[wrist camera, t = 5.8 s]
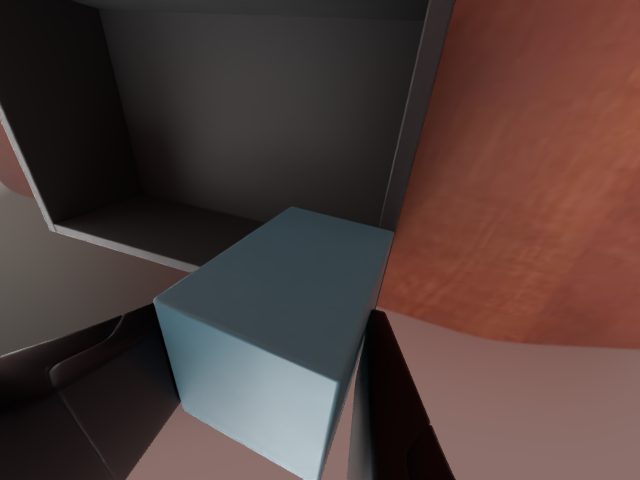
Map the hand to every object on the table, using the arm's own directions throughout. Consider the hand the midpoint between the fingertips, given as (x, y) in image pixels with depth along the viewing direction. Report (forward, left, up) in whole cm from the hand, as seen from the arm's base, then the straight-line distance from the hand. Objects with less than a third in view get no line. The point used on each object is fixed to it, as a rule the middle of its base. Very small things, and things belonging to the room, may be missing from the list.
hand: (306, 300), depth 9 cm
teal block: (0, 0, -2) cm, 2 cm away
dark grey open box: (+7, +3, -9) cm, 12 cm away
